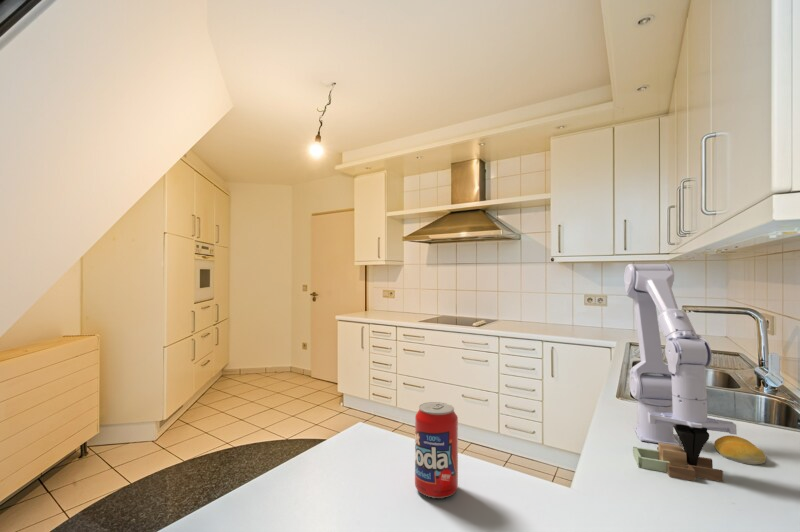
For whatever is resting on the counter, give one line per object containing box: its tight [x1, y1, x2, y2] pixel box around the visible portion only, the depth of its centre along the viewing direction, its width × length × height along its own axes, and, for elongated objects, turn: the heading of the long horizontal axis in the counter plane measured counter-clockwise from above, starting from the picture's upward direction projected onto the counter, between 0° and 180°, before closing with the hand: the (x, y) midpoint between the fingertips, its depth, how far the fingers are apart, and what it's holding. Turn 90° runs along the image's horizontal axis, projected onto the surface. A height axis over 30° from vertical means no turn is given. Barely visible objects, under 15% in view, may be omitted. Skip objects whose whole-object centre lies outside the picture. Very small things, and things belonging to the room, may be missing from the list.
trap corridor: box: [632, 446, 724, 483], centre depth 78 cm, size 10×14×2 cm
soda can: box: [414, 401, 459, 499], centre depth 68 cm, size 8×8×15 cm
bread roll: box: [713, 434, 767, 466], centre depth 83 cm, size 8×9×4 cm
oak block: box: [657, 443, 687, 468], centre depth 78 cm, size 4×4×4 cm
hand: (691, 463), depth 76 cm, fingers closed
